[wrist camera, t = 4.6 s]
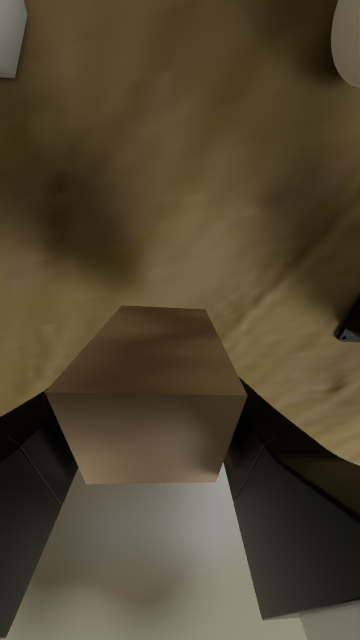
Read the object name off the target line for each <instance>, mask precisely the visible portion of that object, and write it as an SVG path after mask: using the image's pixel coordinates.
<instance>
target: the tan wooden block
mask: <svg viewBox="0 0 360 640" xmlns="http://www.w3.org/2000/svg"><path fill="white" fill-rule="evenodd" d="M45 393H46V396H47V398H48V400H49V402H50V405H51V407H52V409H53V411H54V413H55V416H56V418H57V420H58V422H59V425H60V427H61V429H62V431H63V433H64V436H65V438H66V440H67V442H68V445H69V447H70V449H71V451H72V454H73V456H74V458H75V460H76V462H77V465H78V467H79V469H80V471H81V473H82V476H83V478H84V480H85V482H86V484H126V483H127V484H129V483H185V482H186V483H187V482H216V480H217V477H218V475H219V472H220V469H221V466H222V463H223V461H224V458H225V456H226V453H227V450H228V447H229V445H230V442H231V439H232V437H233V434H234V431H235V428H236V426H237V423H238V420H239V417H240V415H241V412H242V409H243V407H244V404H245V401H246V398H247V393H246V391H245V389H244V387H243V385H242V383H241V381H240V379H239V377H238V375H237V373H236V371H235V369H234V367H233V365H232V363H231V361H230V359H229V357H228V355H227V353H226V351H225V349H224V347H223V344H222V342H221V340H220V338H219V336H218V334H217V332H216V330H215V328H214V326H213V324H212V322H211V320H210V318H209V316H208V314H207V312H206V310H204V309H183V308H163V307H142V306H121V307H120V308H119V309H118V311H117V312H116V313H115V314H114V315H113V316H112V317H111V318H110V320H109V321H108V322H107V323H106V324H105V325H104V326H103V328H102V329H101V330H100V331H99V332H98V333H97V334H96V335H95V337H94V338H93V339H92V340H91V341H90V342H89V343H88V344H87V346H86V347H85V348H84V349H83V350H82V351H81V352H80V353H79V355H78V356H77V357H76V358H75V359H74V360H73V361H72V362H71V364H70V365H69V366H68V367H67V368H66V369H65V370H64V372H63V373H62V374H61V375H60V376H59V377H58V378H57V379H56V381H55V382H54V383H53V384H52V385H51V386H50V387H49V388H48V390H47V391H46V392H45Z"/></svg>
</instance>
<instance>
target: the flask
mask: <svg viewBox="0 0 360 640" xmlns="http://www.w3.org/2000/svg"><path fill="white" fill-rule="evenodd" d="M26 19H27V11H26V7H25V3H24V0H0V78H15V75H16V70H17V65H18V60H19V55H20V50H21V45H22V40H23V35H24V30H25V24H26Z"/></svg>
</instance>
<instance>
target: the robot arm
mask: <svg viewBox="0 0 360 640" xmlns="http://www.w3.org/2000/svg"><path fill="white" fill-rule="evenodd" d="M337 339H338V340H340V341H344V342H360V298H359V300H358V301H357V303H356V305H355V306H354V308H353V310H352V311H351V313H350V315H349V317H348V318H347V320H346V322H345V323H344V325H343V327H342V328H341V330H340V332H339V333H338V335H337ZM239 379H240V381H241V383H242V385H243V387H244V389H245V391H246V393H247V398H246V401H245V404H244V407H243V409H242V412H241V415H240V417H239V420H238V423H237V426H236V428H235V431H234V434H233V437H232V439H231V442H230V445H229V447H228V450H227V453H226V456H225V458H224V461H223V462H224V466H225V470H226V474H227V478H228V482H229V486H230V491H231V494H232V499H233V501H234V507H235V511H236V515H237V519H238V524H239V528H240V532H241V536H242V540H243V543H244V548H245V552H246V556H247V560H248V564H249V569H250V572H251V577H252V580H253V585H254V589H255V593H256V597H257V601H258V605H259V609H260V613H261V616H262V619H263V620H272V619H287V618H300V619H301V622H302V625H303V628H304V631H305V634H306V637H307V639H308V640H360V466H359V465H356V464H353V463H351V462H349V461H346V460H344V459H342V458H340V457H338V456H337V455H335V454H333V453H332V452H330V451H329V450H327V449H326V448H324V447H323V446H322V445H320V444H319V443H318V442H317V441H315V440H314V439H313V438H311V437H310V436H309V435H308V434H306V433H305V432H304V431H302V430H301V429H300V428H299V427H297V426H296V425H295V424H293V423H292V422H291V421H290V420H288V419H287V418H286V417H284V416H283V415H282V414H281V413H280V412H278V411H277V410H276V409H275V408H273V407H272V406H271V405H270V404H269V403H268V402H266V401H265V400H264V399H263V398H262V397H261V396H260V395H258V394H257V393H256V392H255V391H254V390H253V389H252V388H251V387H250V386H248V385H247V384H246V383H245V382H244V381H243V380H242V379H241V378H240V377H239ZM47 390H48V389H46V390H45V392H46V391H47ZM45 392H44V391H43V392H41V393H40V394H38V395H37V396H35V397H33V398H32V399H30V400H28V401H27V402H25V403H23V404H22V405H20V406H18V407H17V408H15V409H13V410H12V411H10V412H8V413H6V414H5V415H3V416H1V417H0V639H1V638H6V636H7V634H8V632H9V630H10V627H11V625H12V623H13V620H14V618H15V616H16V614H17V611H18V609H19V606H20V604H21V602H22V599H23V597H24V595H25V592H26V590H27V588H28V585H29V583H30V580H31V578H32V576H33V573H34V571H35V569H36V566H37V564H38V561H39V559H40V557H41V555H42V552H43V550H44V547H45V545H46V543H47V540H48V538H49V536H50V533H51V531H52V529H53V526H54V524H55V521H56V519H57V517H58V515H59V512H60V510H61V506H62V504H63V502H64V500H65V498H66V495H67V493H68V491H69V488H70V486H71V484H72V481H73V479H74V476H75V474H76V472H77V469H78V465H77V462H76V460H75V458H74V456H73V454H72V451H71V449H70V447H69V445H68V442H67V440H66V438H65V436H64V433H63V431H62V429H61V427H60V425H59V422H58V420H57V418H56V416H55V413H54V411H53V409H52V407H51V405H50V402H49V400H48V398H47V396H46V393H45Z"/></svg>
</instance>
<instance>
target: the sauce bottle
mask: <svg viewBox="0 0 360 640" xmlns="http://www.w3.org/2000/svg"><path fill="white" fill-rule="evenodd" d="M331 51H332V56H333V61H334V64H335V66H336V69H337V71H338V73H339V74H340V76H341V77H342V78H343V79H344V80H345V81H346V82H347V83H348V84H350V85H352V86H355V87H357V88H360V0H338V2H337V6H336V10H335V14H334V18H333V24H332V31H331Z"/></svg>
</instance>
